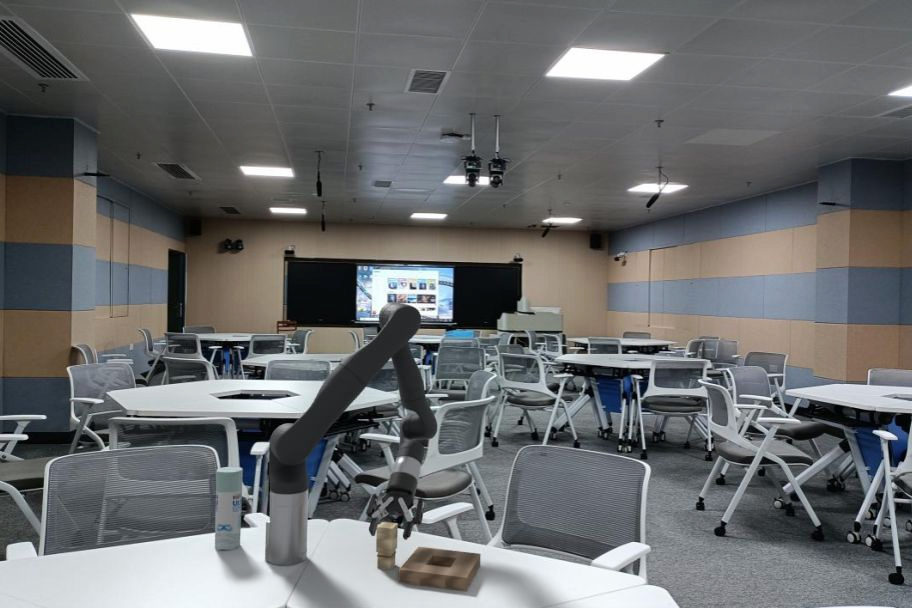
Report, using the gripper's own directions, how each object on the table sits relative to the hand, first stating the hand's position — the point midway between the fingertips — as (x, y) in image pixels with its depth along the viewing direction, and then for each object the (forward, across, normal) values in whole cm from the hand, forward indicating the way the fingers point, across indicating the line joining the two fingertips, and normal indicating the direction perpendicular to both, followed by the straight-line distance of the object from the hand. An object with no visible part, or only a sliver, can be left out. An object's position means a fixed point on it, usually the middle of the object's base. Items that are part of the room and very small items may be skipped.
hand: (388, 536), depth 158 cm
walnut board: (+6, +14, +4) cm, 16 cm away
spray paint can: (+6, -44, +4) cm, 45 cm away
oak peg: (+6, 0, +4) cm, 7 cm away
